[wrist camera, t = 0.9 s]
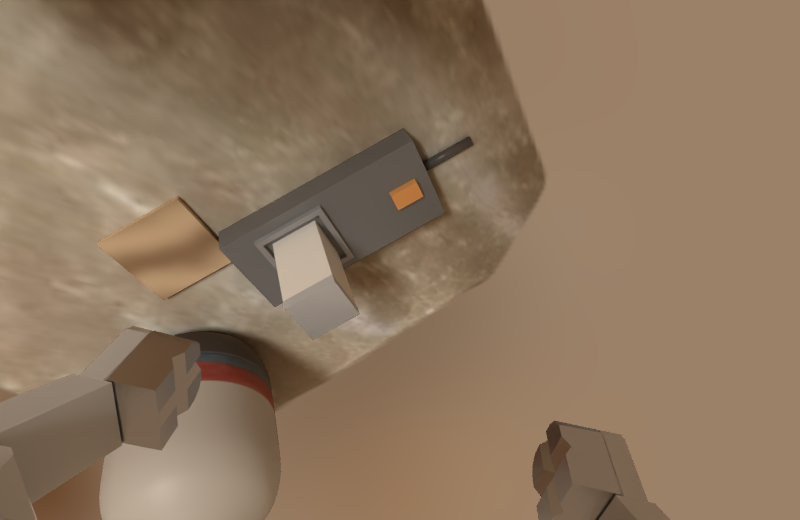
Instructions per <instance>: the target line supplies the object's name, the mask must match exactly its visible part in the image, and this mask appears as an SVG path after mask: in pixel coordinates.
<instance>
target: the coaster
mask: <svg viewBox="0 0 800 520" xmlns="http://www.w3.org/2000/svg"><path fill="white" fill-rule="evenodd" d="M97 246H99V247H100V248H101V249H102V250H104V251H105V252H106V253H107V254H108V255H110V256H111V257H112V258H113V259H114V260H116V261H117V262H118V263H119V264H121V265H122V266H123V267H124V268H125V269H127V270H128V271H129V272H130V273H131V274H133V275H134V276H135V277H136V278H137V279H139V280H140V281H141V282H142V283H144V284H145V285H146V286H147V287H148V288H150V289H151V290H152V291H153V292H154V293H156V294H157V295H158V296H159V297H160V298H162V299H163V300H165V299H167V298H168V297H170V296H172V295H174V294H176V293H177V292H179V291H181V290H183V289H184V288H186V287H188V286H190V285H192V284H193V283H195V282H197V281H199V280H200V279H202V278H204V277H206V276H208V275H209V274H211V273H213V272H215V271H216V270H218V269H220V268H222V267H224V266H225V265H227V264H229V263H231V261H230V260H229V259H228V258H227V257H226V256H225V255H224V254H223V253H222V252H221V251H220V250H219V239H218V238H217V237H216V236H215V235H214V234H213V233H212V232H211V231H210V230H209V229H208V228H207V227H206V225H205V224H204V223H203V222H202V221H201V220H200V219H199V218H198V217H197V216H196V215H195V214H194V213H193V212H192V211H191V210H190V209H189V207H188V206H187V205H186V204H185V203H184V202H183V201H182V200H181V199H180V198H179V197H176V198H174V199H172V200H171V201H169V202H167V203H165V204H164V205H162V206H160V207H158V208H157V209H155V210H153V211H151V212H150V213H148V214H146V215H144V216H143V217H141V218H139V219H137V220H136V221H134V222H132V223H130V224H129V225H127V226H125V227H123V228H121V229H120V230H118V231H116V232H114V233H113V234H111V235H109V236H107V237H106V238H104V239H102V240H100V241H99V242H98V244H97Z"/></svg>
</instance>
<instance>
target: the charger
mask: <svg viewBox="0 0 800 520" xmlns="http://www.w3.org/2000/svg"><path fill="white" fill-rule="evenodd" d="M273 250H274V255H275V261H276V266H277V272H278V277H279V283H280V288H281V294H282V299H283V307H284V310H285V311H286V312H287V313H288V314H289V315H290V316H291V317H292V318H293V319H294V321H295V322H296V323H297V324H298V325H299V326H300V327H301V328H302V329H303V330H304V331H305V332H306V333H307V334H308V335H309V336H310V337H311V338H312V340H314V339H316V338H318V337H320V336H321V335H323V334H325V333H327V332H329V331H330V330H332V329H334V328H336V327H338V326H340V325H341V324H343V323H345V322H347V321H349V320H350V319H352V318H354V317H356V316H358V315H359V314H360V313H359V311H358V308H357V306H356V303H355V300H354V297H353V294H352V292H351V289H350V286H349V283H348V280H347V277H346V275H345V272H344V269H343V266H342V263H341V260H340V258H339V255H338V252H337V251H336V249H335V248H334V246H333V245H332V244H331V242H330V241H329V239H328V238H327V237H326V235H325V234H324V232H323V231H322V230H321V228H320V227H319V225H318V224H317V223H316V221H315V220H314V221H312V222H311V223H309V224H307V225H305V226H304V227H302V228H300V229H298V230H296V231H295V232H293V233H291V234H289V235H288V236H286V237H284V238H282V239H280V240H279V241H277V242H275V243H273Z"/></svg>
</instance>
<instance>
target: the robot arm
mask: <svg viewBox="0 0 800 520" xmlns="http://www.w3.org/2000/svg"><path fill="white" fill-rule="evenodd" d="M200 355H201V353H200V344H199V343H198V342H196V341H193V340H189V339H185V338H181V337H177V336H173V335H169V334H165V333H161V332H157V331H151V330H147V329H143V328H139V327H135V326H132V327H129V328H127V329H125V330H124V331H123V332H122V333H121V334H120V335H119V336H118V337H117V338H116V339H115V340H114V341H113V342H112V343H111V344H110V345H109V346H108V347H107V348H106V349H105V350H104V351H103V352H102V353H101V354H100V355H99V356H98V357H97V358H96V359H95V360H94V361H93V362H92V363H91V364H90V365H89V366H88V367H87V368H86V369H85V370H84V371H83V372H82V373H81V374H80V375H77V374H71V375H68V376H66V377H63V378H61V379H58V380H56V381H53V382H51V383H48V384H45V385H43V386H40V387H38V388H35V389H33V390H30V391H28V392H25V393H23V394H20V395H18V396H15V397H13V398H10V399H7V400H5V401H2V402H0V520H37V518H36V515H35V512H34V509H33V507H32V503H33V502H35V501H36V500H38V499H40V498H41V497H43V496H44V495H46V494H47V493H49V492H50V491H52V490H54V489H55V488H57V487H58V486H60V485H61V484H63V483H64V482H66V481H67V480H69V479H71V478H72V477H73V476H75V475H77V474H78V473H80V472H81V471H83V470H85V469H86V468H88V467H89V466H91V465H92V464H94V463H95V462H97V461H98V460H100V459H102V458H103V457H105V456H106V455H108V454H109V453H111V452H113V451H114V450H116V449H117V448H119V447H120V446H122V443H125V444H130V445H135V446H140V447H145V448H151V449H156V450H161V451H162V449H163V448H164V446H165V445H166V443H167V442H168V440H169V439H170V437H171V436H172V434H173V433H174V431H175V430H176V428H177V427H178V419H177V416H178V415H180V414H182V413H183V412H185V411H187V410H189V408H190V406H191V405H192V403H193V402H194V400H195V398H196V395H197V392H198V390H199V387H200V382H201V369H200V367H199V366H198V365H197V363H196V361H197V359H198V358H199V356H200ZM546 434H547V439H548V441H546V442H544V443H542V444H540V445H539V447H538V449H537V451H536V453H535V457H534V462H533V484H534V488H535V489H536V491H537V492H538V493H539V494H540V496H541V499H540V501H539V503H538V505H537V512H538V518H539V520H670V519H669V518H668V517H667V516H666V515H665V514H664V513H663V511H662V510H661V509H660V508H658V506H657V505H656V504H654V503H650V502H648V500H647V497H646V495H645V492H644V489H643V487H642V484H641V481H640V479H639V476H638V473H637V471H636V468H635V465H634V462H633V460H632V457H631V454H630V452H629V449H628V446H627V444H626V441H625V439H624V438H623V437H622V435H620V434H615V433H610V432H606V431H601V430H596V429H591V428H586V427H581V426H577V425H572V424H567V423H563V422H558V421H553V422H552V423H551V424H550V425H549V427H548V429H547V431H546Z"/></svg>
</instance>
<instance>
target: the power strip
mask: <svg viewBox="0 0 800 520" xmlns="http://www.w3.org/2000/svg"><path fill="white" fill-rule="evenodd" d="M472 145H473V143H472V141H471V139H470V137H467V138H465V139H463V140H462V141H460V142H458V143H456V144H455V145H453V146H451V147H449V148H447V149H446V150H444V151H442V152H440V153H439V154H437V155H435V156H433V157H431V158H430V159H428V160H426V161H424V162H422V160H421V157H420V155H419V153H418V151H417V148H416V146H415V144H414V142H413V140H412V139H411V137H410V136H409V135H408V133H407V132H406V131H405V130H404V128H403V129H401V130H400V131H398V132H396V133H394V134H392V135H391V136H389V137H387V138H385V139H384V140H382V141H380V142H378V143H377V144H375V145H373V146H371V147H369V148H368V149H366V150H364V151H362V152H361V153H359V154H357V155H355V156H354V157H352V158H350V159H348V160H346V161H345V162H343V163H341V164H339V165H338V166H336V167H334V168H332V169H330V170H329V171H327V172H325V173H323V174H322V175H320V176H318V177H316V178H315V179H313V180H311V181H309V182H307V183H306V184H304V185H302V186H300V187H299V188H297V189H295V190H293V191H291V192H290V193H288V194H286V195H284V196H283V197H281V198H279V199H277V200H276V201H274V202H272V203H270V204H268V205H267V206H265V207H263V208H261V209H260V210H258V211H256V212H254V213H253V214H251V215H249V216H247V217H245V218H244V219H242V220H240V221H238V222H237V223H235V224H233V225H231V226H229V227H228V228H226V229H224V230H222V231H221V232H219V250H220V251H221V252H222V253H223V254H224V255H225V256H226V257H227V258H228V259H229V260H230V261H231V262H232V263H233V264H234V265H235V266H236V267H237V268H238V269H239V270H240V271H241V272H242V274H243V275H244V276H245V277H246V278H247V279H248V280H249V281H250V282H251V283H252V284H253V285H254V286H255V287H256V288H257V289H258V290H259V291H260V292H261V293H262V294H263V295H264V296H265V297H266V298H267V299H268V301H269V302H270V303H271V304H272V305H273V306H274V307H276V306H278V305H280V304H282V303H283V299H282V294H281V288H280V283H279V277H278V272H277V266H276V261H275V255H274V250H273V243H275V242H277V241H279V240H280V239H282V238H284V237H286V236H288V235H289V234H291V233H293V232H295V231H296V230H298V229H300V228H302V227H304V226H305V225H307V224H309V223H311V222H312V221H314V220H315V221H316V223H317V224H318V225H319V227H320V228H321V230H322V231H323V232H324V234H325V235H326V237H327V238H328V239H329V241H330V242H331V244H332V245H333V246H334V248H335V249H336V251H337V252H338V255H339V258H340V260H341V263H342V266H343V269H345V268H346V267H348V266H350V265H352V264H354V263H355V262H357V261H359V260H361V259H363V258H364V257H366V256H368V255H370V254H372V253H373V252H375V251H377V250H379V249H381V248H382V247H384V246H386V245H388V244H390V243H391V242H393V241H395V240H397V239H399V238H400V237H402V236H404V235H406V234H408V233H409V232H411V231H413V230H415V229H416V228H418V227H420V226H422V225H424V224H425V223H427V222H429V221H431V220H433V219H434V218H436V217H438V216H440V215H442V214H443V213H445V211H444V209H443V207H442V204H441V202H440V200H439V198H438V195H437V193H436V191H435V189H434V186H433V184H432V182H431V180H430V177H429V175H428V173H427V170H429V169H431V168H433V167H434V166H436V165H438V164H440V163H441V162H443V161H445V160H447V159H449V158H450V157H452V156H454V155H456V154H458V153H459V152H461V151H463V150H465V149H466V148H468V147H470V146H472Z"/></svg>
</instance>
